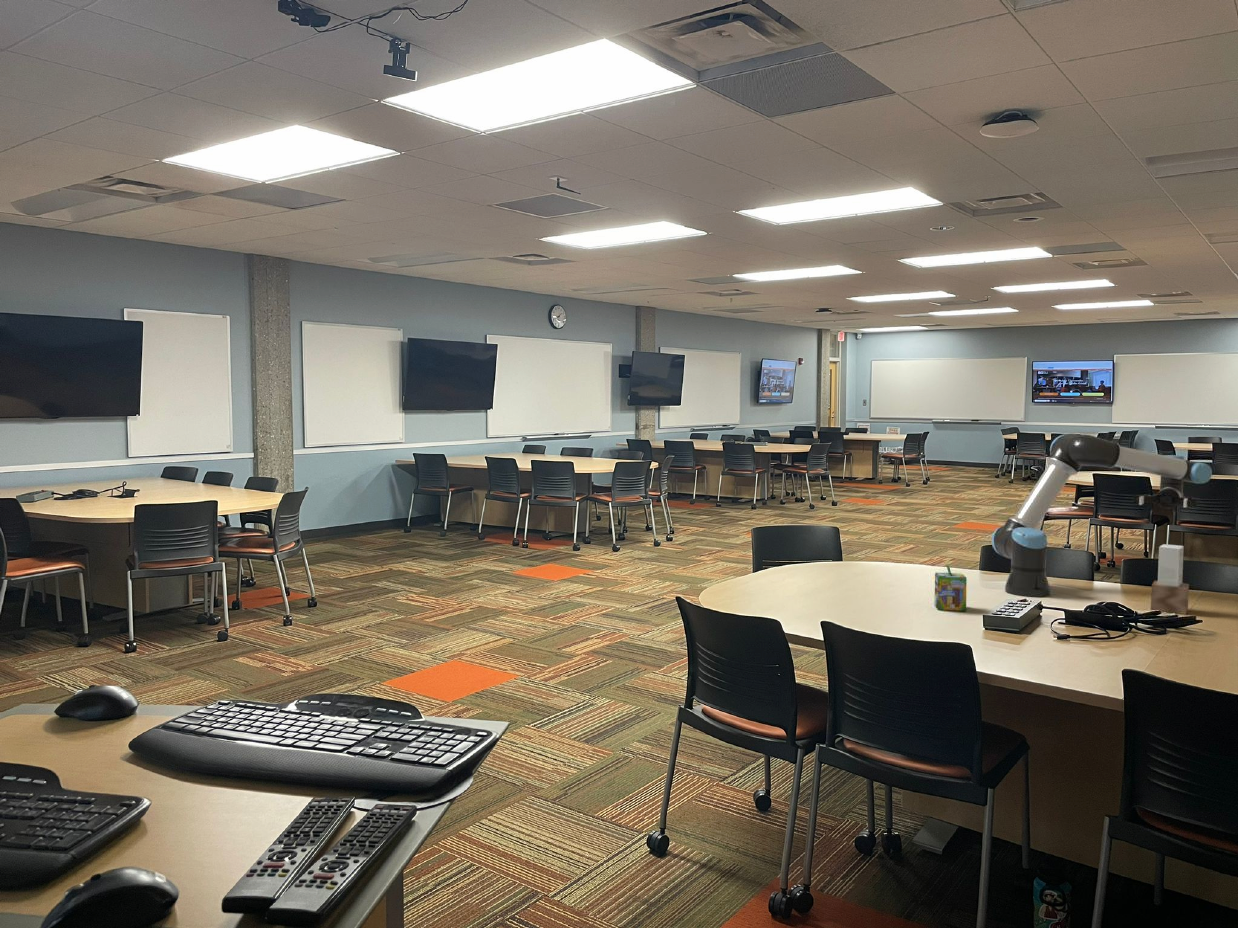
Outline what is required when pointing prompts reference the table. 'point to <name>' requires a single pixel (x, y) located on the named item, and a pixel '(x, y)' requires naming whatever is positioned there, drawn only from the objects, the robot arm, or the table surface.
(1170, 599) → the walnut block
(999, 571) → the table surface
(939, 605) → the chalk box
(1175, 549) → the small box
